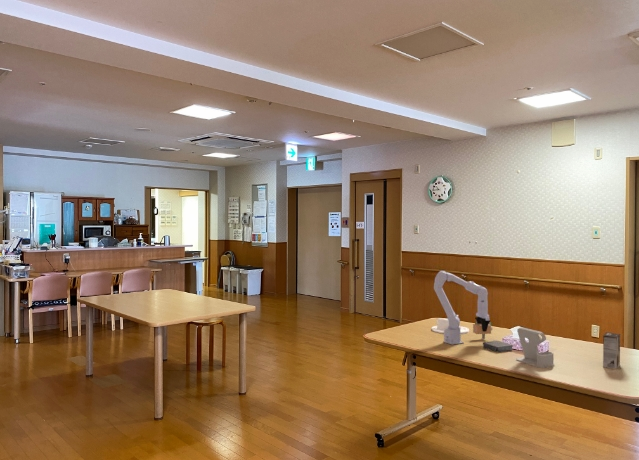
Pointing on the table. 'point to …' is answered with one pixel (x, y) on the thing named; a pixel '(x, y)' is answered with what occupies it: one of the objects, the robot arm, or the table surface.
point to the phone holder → (534, 348)
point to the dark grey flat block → (497, 346)
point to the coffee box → (611, 350)
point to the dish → (446, 326)
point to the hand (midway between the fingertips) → (482, 330)
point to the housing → (478, 329)
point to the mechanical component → (484, 334)
